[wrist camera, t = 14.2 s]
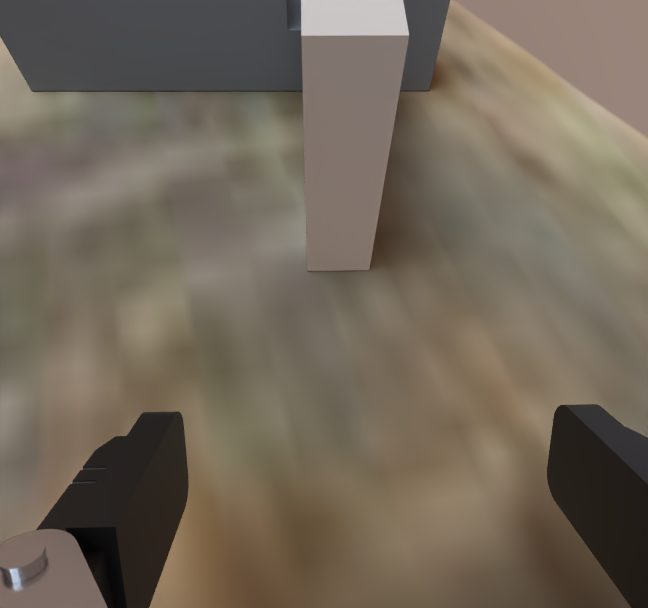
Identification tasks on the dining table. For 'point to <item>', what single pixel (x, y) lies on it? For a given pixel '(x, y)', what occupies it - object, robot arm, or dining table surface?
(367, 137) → the white slotted plate
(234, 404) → the dining table surface
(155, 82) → the grey slotted plate
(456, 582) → the dining table surface
